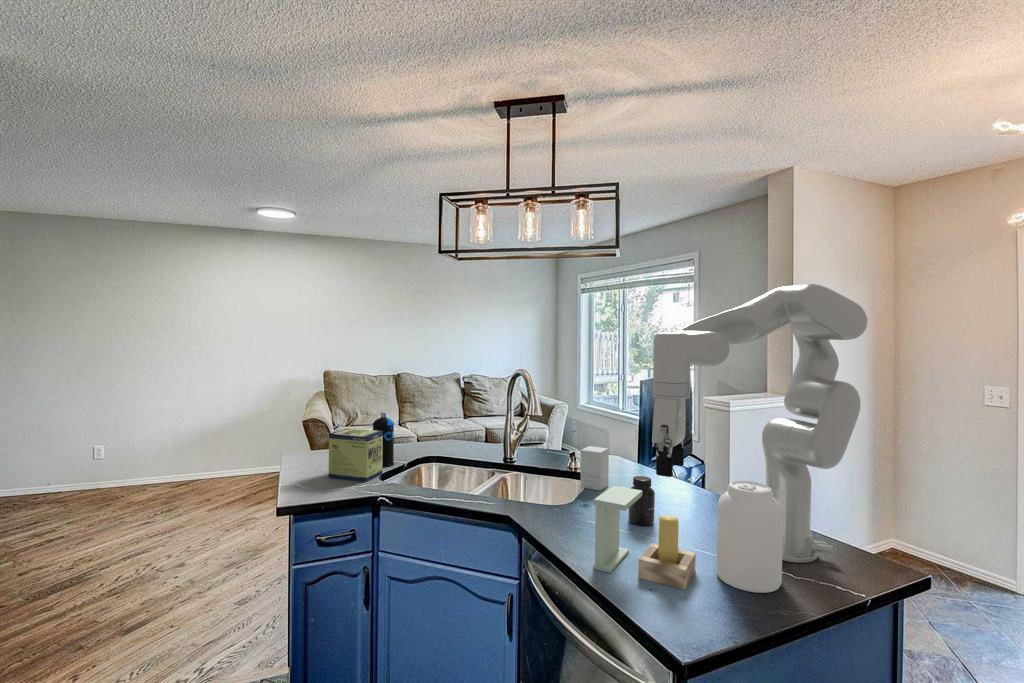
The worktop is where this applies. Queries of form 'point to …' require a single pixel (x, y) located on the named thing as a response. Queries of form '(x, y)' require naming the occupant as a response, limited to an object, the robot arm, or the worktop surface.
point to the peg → (668, 539)
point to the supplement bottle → (643, 502)
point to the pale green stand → (611, 526)
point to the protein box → (355, 454)
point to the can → (750, 537)
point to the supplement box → (594, 467)
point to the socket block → (667, 568)
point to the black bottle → (386, 438)
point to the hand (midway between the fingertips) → (670, 470)
